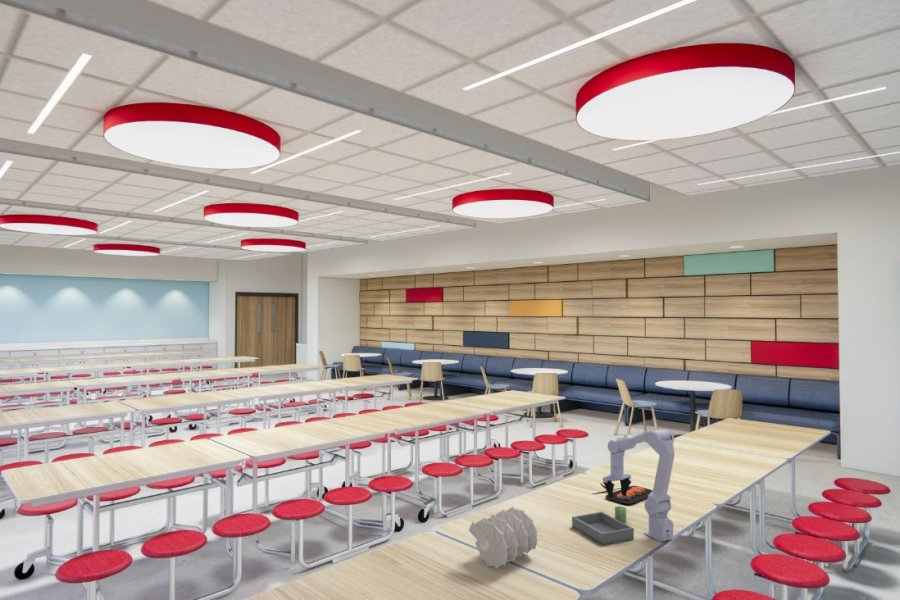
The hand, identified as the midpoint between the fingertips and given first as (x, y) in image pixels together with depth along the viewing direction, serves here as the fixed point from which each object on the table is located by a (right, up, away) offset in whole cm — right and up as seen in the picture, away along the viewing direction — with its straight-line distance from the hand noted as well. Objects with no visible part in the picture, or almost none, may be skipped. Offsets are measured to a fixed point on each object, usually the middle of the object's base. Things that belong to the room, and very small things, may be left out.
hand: (617, 496), depth 244 cm
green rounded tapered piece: (0, -9, -5) cm, 11 cm away
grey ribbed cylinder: (-55, -8, -43) cm, 71 cm away
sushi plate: (+11, -12, +35) cm, 38 cm away
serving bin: (-12, -9, -18) cm, 23 cm away
